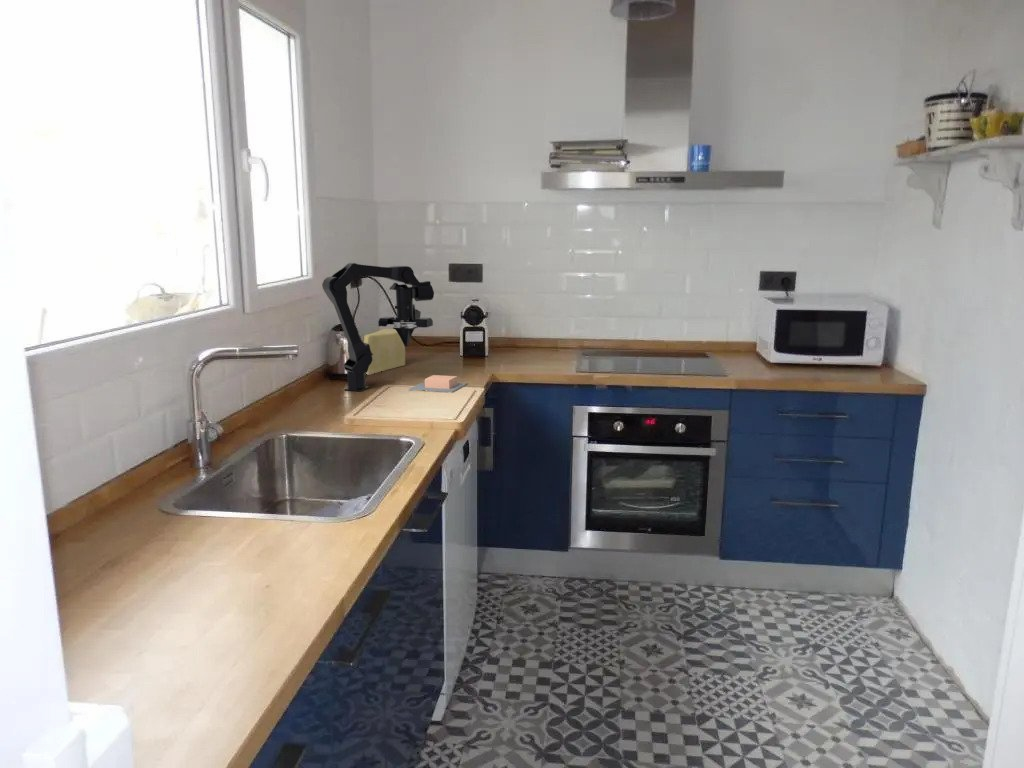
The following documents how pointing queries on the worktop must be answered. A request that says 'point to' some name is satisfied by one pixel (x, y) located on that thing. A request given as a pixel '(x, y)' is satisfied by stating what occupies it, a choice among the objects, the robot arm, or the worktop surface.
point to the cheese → (385, 350)
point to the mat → (422, 387)
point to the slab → (441, 382)
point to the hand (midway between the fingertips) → (406, 346)
